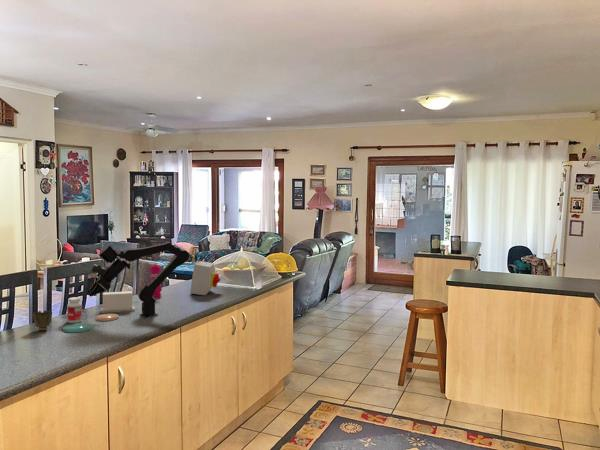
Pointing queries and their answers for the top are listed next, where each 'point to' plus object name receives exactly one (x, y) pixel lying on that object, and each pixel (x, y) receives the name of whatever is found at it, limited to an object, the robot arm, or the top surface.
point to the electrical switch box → (203, 278)
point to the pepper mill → (154, 272)
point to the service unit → (117, 302)
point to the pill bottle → (74, 310)
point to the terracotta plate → (107, 317)
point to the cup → (42, 319)
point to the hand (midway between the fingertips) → (89, 294)
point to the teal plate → (77, 327)
